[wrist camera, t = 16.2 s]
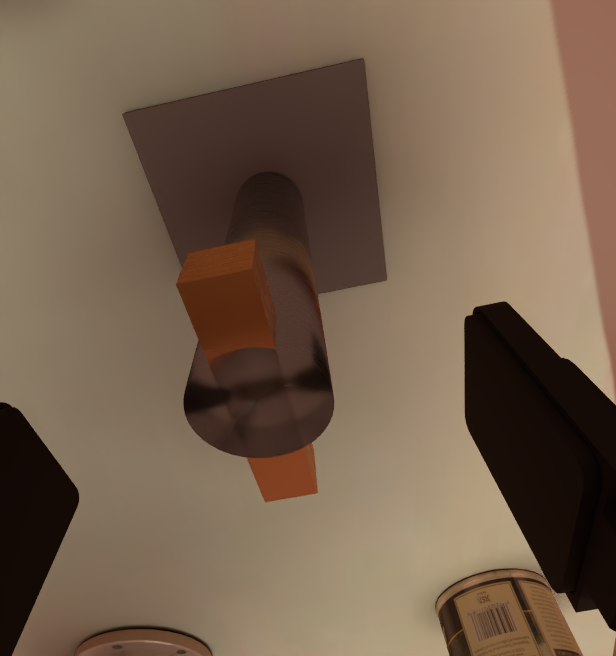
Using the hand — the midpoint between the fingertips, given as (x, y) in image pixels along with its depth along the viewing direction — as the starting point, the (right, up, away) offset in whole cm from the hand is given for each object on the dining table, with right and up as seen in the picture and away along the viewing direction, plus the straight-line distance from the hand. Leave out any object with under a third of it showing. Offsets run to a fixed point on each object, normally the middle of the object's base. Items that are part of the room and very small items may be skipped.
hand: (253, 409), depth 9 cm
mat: (0, +7, +9) cm, 12 cm away
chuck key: (0, +7, +9) cm, 11 cm away
